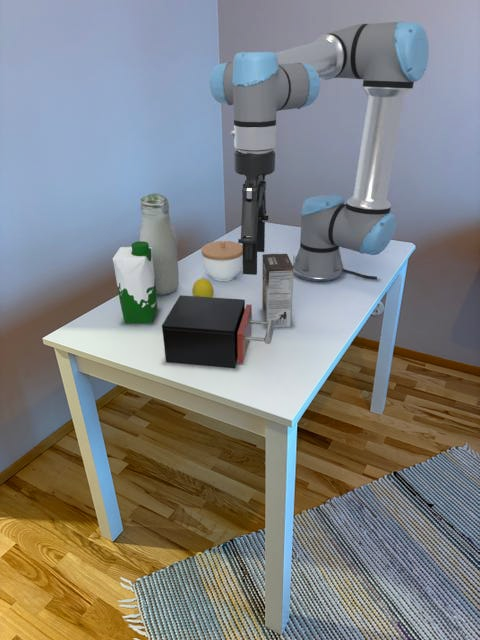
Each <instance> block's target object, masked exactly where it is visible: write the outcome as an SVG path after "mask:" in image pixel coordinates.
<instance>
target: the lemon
mask: <svg viewBox="0 0 480 640" xmlns="http://www.w3.org/2000/svg"><path fill="white" fill-rule="evenodd" d="M192 296H198V297H213V298H214V287H213V284H212V282H211V281H210V280H209V279H207V278H204V277H201V278H198V279H197V280H196V281H194V284H193V285H192Z"/></svg>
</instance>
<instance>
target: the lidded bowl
mask: <svg viewBox="0 0 480 640" xmlns="http://www.w3.org/2000/svg"><path fill="white" fill-rule="evenodd" d="M200 249H201V257H202V263H203V267H204V269H205V271H206V273H207V275H209V276H210V277H211V278H212V279H213V280H214V281H217V282H229V281H232V280H234V279H235V278H236V276H238V274H239V273H240V272H241V271H242V269H243V246H242V244H241V243H238V242H236V241H231V240H217V241H212V242H208V243H206V244H204V245H203V246H202V247H201V248H200Z"/></svg>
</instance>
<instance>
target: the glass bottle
mask: <svg viewBox="0 0 480 640" xmlns="http://www.w3.org/2000/svg"><path fill="white" fill-rule="evenodd" d="M169 210H170V203H169V201H168V198H167V197H166V196H165V195H164V194H161V193H150V194H147V195H144V196H143V197H141V198H140V211H141V214H142V215H141V226H140V232H139V239H138V242H139V241H144V242H147V243H148V245H149V247H152V258H153V268H154V276H155V285H156V293H157V296H158V295H162V296H164V295H169V294H172V293H173V292H175V291H176V289H178V286H179V280H180V276H179V275H180V272H179V260H178V239H177V234H176V232H175V228H174V226H173V222H172V220H171V215H170V211H169Z"/></svg>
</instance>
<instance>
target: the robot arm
mask: <svg viewBox="0 0 480 640" xmlns="http://www.w3.org/2000/svg"><path fill="white" fill-rule="evenodd" d="M429 49H430V47H429V39H428V34H427V32H426V30H425V28H424V26H423V25H422V24H420V22H415V21H414V22H413V21H391V22H377V23H357V24H354V25H350V26H347V27H343V28H340V29H337V30H333V31H331V32H328V33H325V34H321V35H319V36H318V37H317V38H315V40H314V41H313V42H310V43H307V44H303V45H299V46H295V47H292V48H287V49H285V50H280V51H277V52H275V51H240V52H237V53H236V54H235V55H234V56H233V57H234V58H233V61H232V62H231V61H228V62H225V63H219V64H217V65H216V66H214V68H213V69H212V71H211V73H210V77H209V88H210V94H211V95H212V97H213V99H214V100H215V101H216V102H218V103H220V104H225V105H227V106H233V129H231V130H230V135H231V136H232V137H233V136H234V138H233V146H234V148H235V149H236V150H235V152H234V153H233V159H234V161H233V166H234V167H233V169H234V172H235V173H236V174H238V175H239V176H240V175H241V176H242V175H243V176H245V177H246V179H245V181H244V183H242V189H241V193H242V203H241V204H242V205H241V225H240V238H238V239H237V243H239V244H241V245H242V246H243V265H242V275H250V276H251V275H252V276H257V274H258V253H265V249H266V248H265V246H266V245H265V242H266V240H265V238H266V222H268V221H269V215H267V201H266V195H267V194H266V189H267V181H266V176H267V175H271V174H273V173H274V172H275V170H276V152H275V151H274V149H275V148H276V147H277V112H279V111H288V110H294V109H297V110H301V109H302V108H305V107H308V106H311V105H312V104H313V103H314V102H315V101H316V99H317V98H318V96H319V94H320V91H321V90H320V89H321V80H322V81H323V80H324V81H329V80H332V79H338V78H339V79H353V80H363V81H362V90H363V91H364V92H365V94H366V96H367V98H366V105H365V112H364V119H363V124H362V132H361V139H360V146H359V153H358V159H357V167H356V172H355V179H354V180H355V181H354V186H353V193H352V196H351V197H349V198H348V199H346V201H345V197H343V196H341V195H338V194H322V195H316V196H312V197H309V198H307V199H305V200H304V201H303V203H302V206H301V207H302V208H301V214H300V216H301V217H300V218H301V219H300V221H301V222H300V238H299V239H300V240H299V241H300V242H299V249H298V251H297V254H296V256H294V255H292V260H293V263H292V265H293V267H294V275H295V276H296V277H297V278H299V279H301V280H303V281H307V282H313V283H329V282H333V281H337V280H339V279H340V278H342V277H343V275H344V273H345V274H350V275H353V276H356V277H359V278H363V279H368V280H376V281H377V279H378V276H374V275H367V274H362V273H359V272H356V271H353V270H349V269H346V268H344V265H343V260H342V257H341V252H340V248H343V249H347V250H351V251H354V252H357V253H360V254H362V255H363V254H365V255H370V256H376V255H379V254H381V253H382V252H383V251H385V249H386V248H387V247H388V245H389V244H390V243H391V241H392V238H393V236H394V234H395V231H396V227H397V216H396V215H394V214H393V213H392V212H391V208H392V204H391V203H390V201H389V200H388V199H387V197H388V192H389V185H390V180H391V174H392V169H393V163H394V158H395V152H396V147H397V141H398V134H399V129H400V124H401V118H402V112H403V107H404V101H405V98H406V96H407V95H408V94H409V93H411V92H412V91H413V89H414V83H415V82H418V81H420V80H421V79H422V78H423V77H424V75H425V71H426V70H427V67H428V62H429V54H430V53H429V52H430V50H429ZM345 202H346V203H345Z"/></svg>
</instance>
